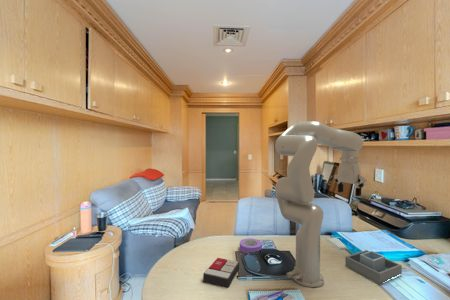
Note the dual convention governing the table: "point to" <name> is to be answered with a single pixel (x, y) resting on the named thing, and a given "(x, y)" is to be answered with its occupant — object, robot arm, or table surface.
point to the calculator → (221, 272)
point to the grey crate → (377, 277)
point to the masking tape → (250, 245)
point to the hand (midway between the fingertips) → (349, 193)
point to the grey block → (373, 261)
